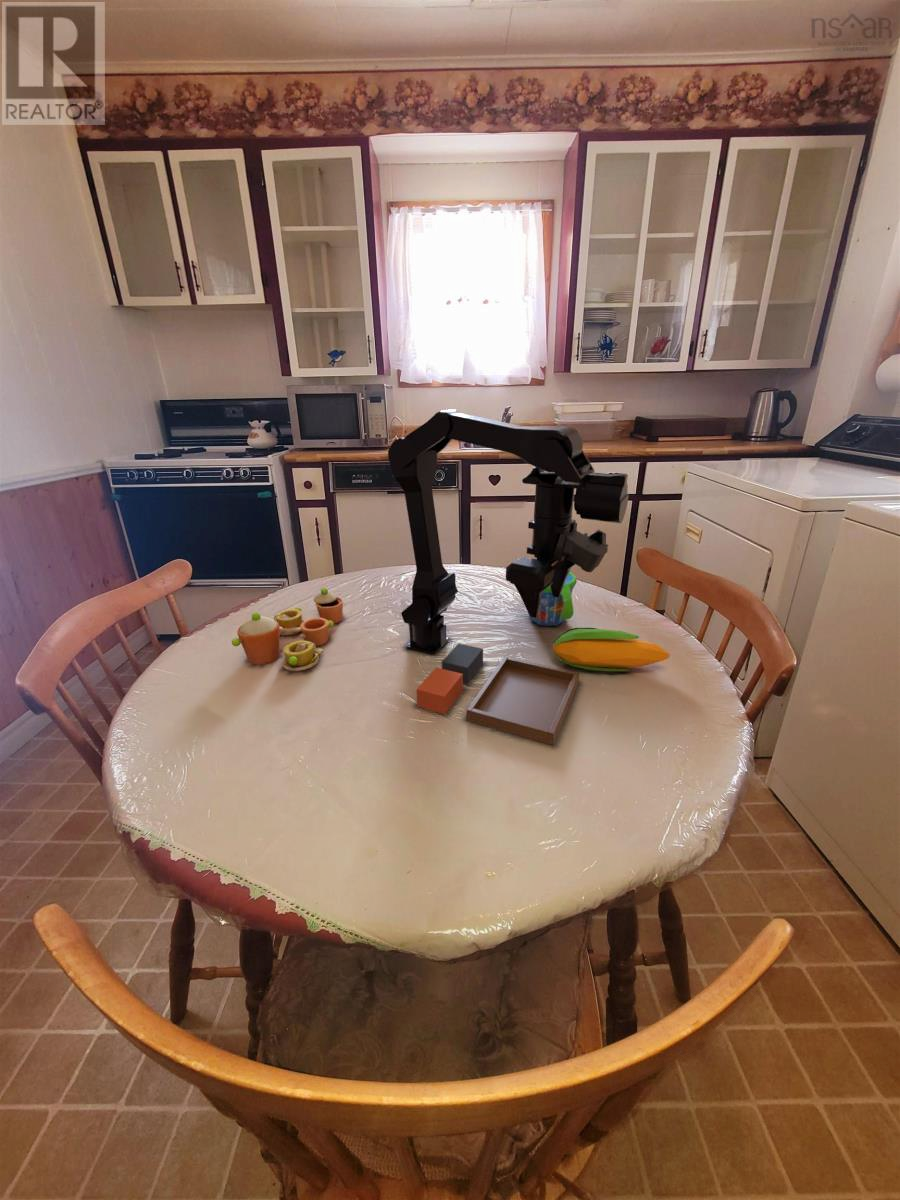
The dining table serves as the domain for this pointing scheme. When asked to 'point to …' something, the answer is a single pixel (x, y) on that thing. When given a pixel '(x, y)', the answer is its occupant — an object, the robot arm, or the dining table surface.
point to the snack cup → (556, 604)
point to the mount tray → (525, 699)
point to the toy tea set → (265, 634)
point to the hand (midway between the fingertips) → (545, 606)
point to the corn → (605, 649)
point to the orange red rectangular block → (440, 690)
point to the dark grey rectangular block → (464, 661)
